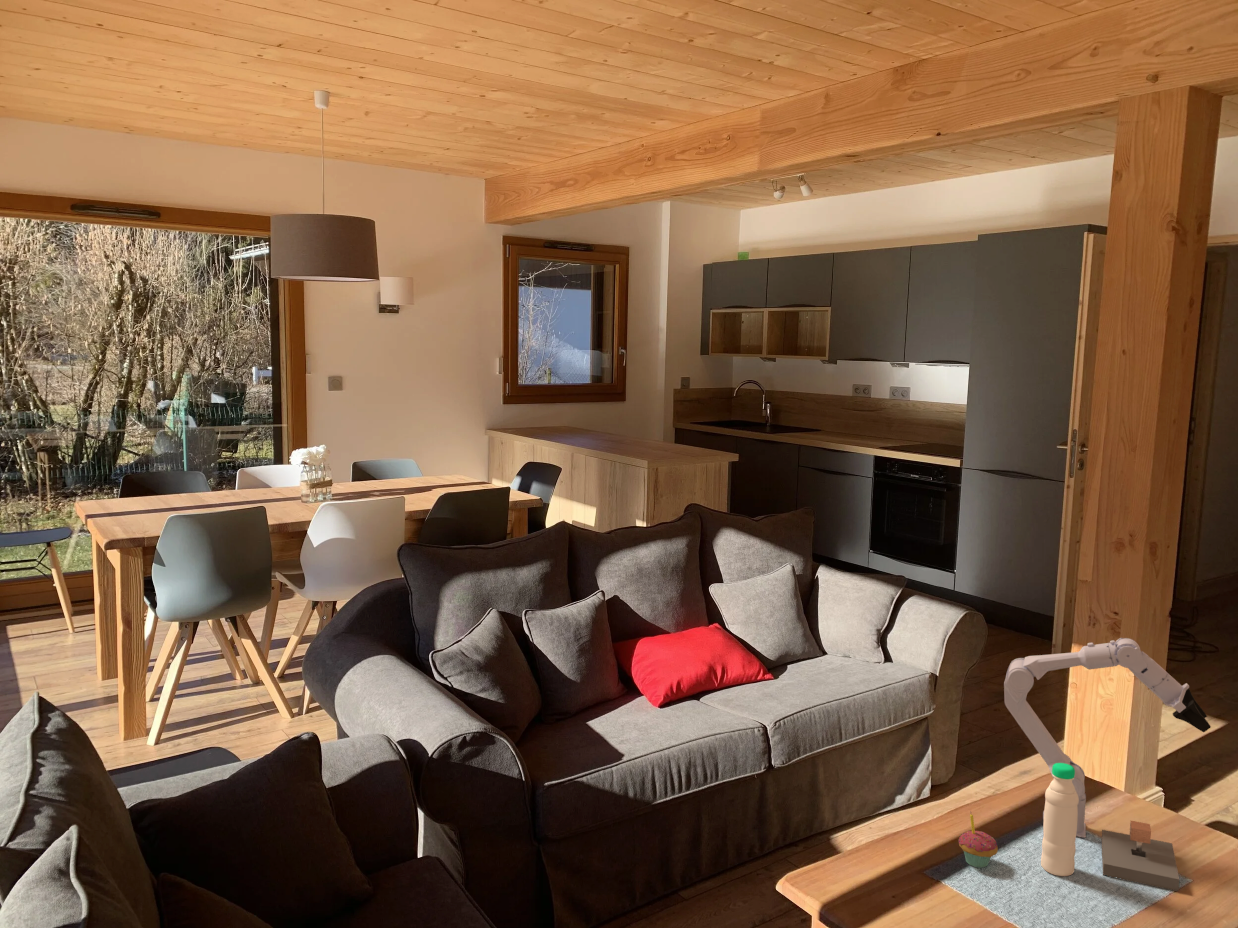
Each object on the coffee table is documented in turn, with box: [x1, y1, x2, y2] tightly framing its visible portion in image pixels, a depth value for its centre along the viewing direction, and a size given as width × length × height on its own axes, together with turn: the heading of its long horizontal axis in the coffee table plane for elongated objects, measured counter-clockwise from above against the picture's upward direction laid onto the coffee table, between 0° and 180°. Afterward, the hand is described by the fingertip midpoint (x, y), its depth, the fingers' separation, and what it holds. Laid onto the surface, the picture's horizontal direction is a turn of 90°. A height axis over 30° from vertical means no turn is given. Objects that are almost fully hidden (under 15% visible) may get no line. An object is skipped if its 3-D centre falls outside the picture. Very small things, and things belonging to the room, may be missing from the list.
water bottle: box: [1040, 763, 1079, 877], centre depth 220 cm, size 7×7×25 cm
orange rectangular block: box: [1129, 820, 1152, 853], centre depth 223 cm, size 4×4×6 cm
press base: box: [1100, 829, 1180, 892], centre depth 224 cm, size 15×18×3 cm
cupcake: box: [958, 811, 999, 869], centre depth 224 cm, size 9×8×12 cm
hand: (1205, 723), depth 226 cm, fingers open, 7 cm apart
